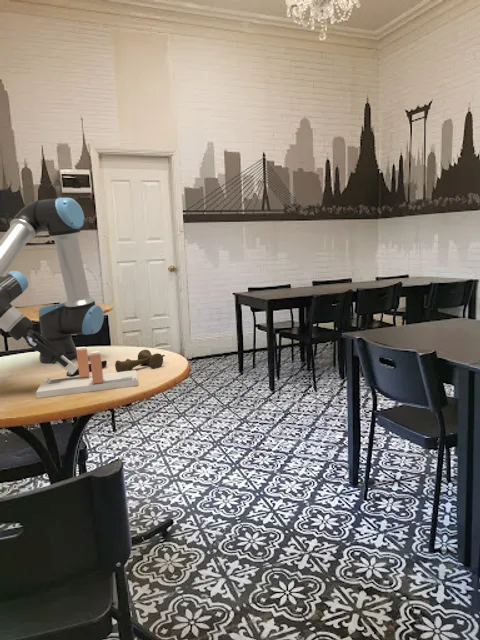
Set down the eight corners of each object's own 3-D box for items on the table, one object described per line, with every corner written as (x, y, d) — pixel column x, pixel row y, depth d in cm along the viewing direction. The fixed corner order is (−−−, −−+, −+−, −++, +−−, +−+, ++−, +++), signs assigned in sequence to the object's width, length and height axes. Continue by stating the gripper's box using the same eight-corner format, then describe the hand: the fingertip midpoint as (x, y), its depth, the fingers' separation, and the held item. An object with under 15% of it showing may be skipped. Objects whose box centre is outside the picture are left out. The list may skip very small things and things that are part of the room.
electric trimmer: (109, 368, 176) (108, 360, 175) (71, 377, 164) (70, 369, 164) (104, 367, 178) (103, 359, 178) (65, 376, 167) (65, 367, 166)
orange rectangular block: (93, 381, 147) (90, 351, 146) (103, 380, 148) (100, 350, 147) (93, 383, 145) (89, 353, 143) (103, 382, 145) (99, 352, 144)
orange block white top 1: (80, 375, 156) (77, 347, 155) (89, 374, 157) (86, 346, 155) (79, 377, 153) (76, 349, 152) (89, 376, 154) (85, 348, 152)
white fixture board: (43, 386, 154) (42, 378, 154) (136, 375, 161) (135, 367, 161) (36, 399, 140) (35, 390, 140) (138, 386, 148) (137, 377, 147)
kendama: (111, 373, 168) (158, 360, 182) (125, 378, 161) (172, 365, 175) (110, 357, 167) (157, 346, 181) (123, 361, 160) (171, 349, 174)
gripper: (12, 330, 153) (69, 375, 160) (2, 336, 141) (65, 384, 147) (28, 313, 154) (84, 358, 160) (20, 317, 141) (81, 366, 148)
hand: (75, 371), depth 154 cm, fingers closed
